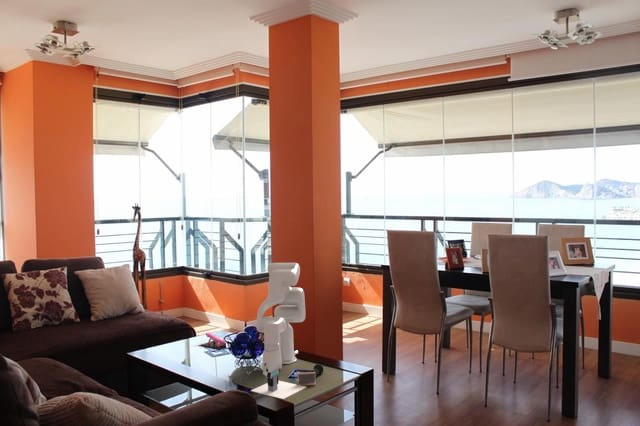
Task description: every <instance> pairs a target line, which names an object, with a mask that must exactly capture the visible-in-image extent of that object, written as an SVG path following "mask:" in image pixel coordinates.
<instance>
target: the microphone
mask: <svg viewBox="0 0 640 426" xmlns="http://www.w3.org/2000/svg"><path fill="white" fill-rule="evenodd" d="M312 372H316V377H317V376H318V375H321V374H323V373H324V366H323V365H322V364H320V363H316V364H315V365H314V366H313V371H312Z"/></svg>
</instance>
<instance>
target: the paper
mask: <svg viewBox="0 0 640 426" xmlns="http://www.w3.org/2000/svg"><path fill="white" fill-rule="evenodd" d="M304 389H307V386H306V385H303V386H300V385H298V384H297V383H291V382H287V381H282V380H278V384H277V390H276V391H274V392H272V391H269V390H268V382H266V383H265V384H262V385H260V386H257V387H255V388H253V389H251V390H250V392H253V393H256V394H261V395H265V396H268V397H274V398H276V399H281V400H285V399H287V398H289V397H291V396H293V395H294V394H297V393H298V392H300V391H303V390H304Z"/></svg>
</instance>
